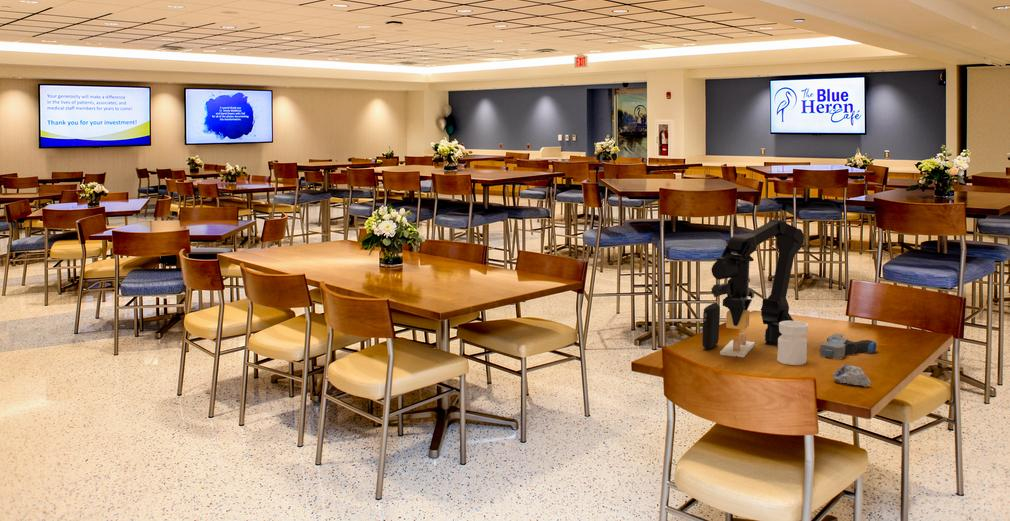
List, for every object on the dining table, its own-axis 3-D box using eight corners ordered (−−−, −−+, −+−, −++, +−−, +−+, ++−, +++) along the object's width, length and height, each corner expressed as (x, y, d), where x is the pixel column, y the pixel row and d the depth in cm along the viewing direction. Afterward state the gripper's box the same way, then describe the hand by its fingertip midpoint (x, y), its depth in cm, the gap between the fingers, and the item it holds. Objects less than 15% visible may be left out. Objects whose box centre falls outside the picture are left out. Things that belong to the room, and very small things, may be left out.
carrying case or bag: (708, 352, 278) (709, 307, 276) (699, 350, 280) (700, 306, 278) (719, 345, 287) (721, 302, 285) (711, 343, 289) (712, 301, 286)
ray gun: (878, 338, 280) (830, 332, 288) (868, 352, 264) (818, 345, 272) (877, 351, 280) (830, 345, 288) (867, 365, 265) (817, 358, 272)
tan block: (749, 325, 277) (749, 310, 276) (745, 329, 272) (745, 314, 271) (730, 323, 280) (730, 308, 279) (726, 327, 274) (726, 312, 273)
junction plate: (754, 345, 287) (755, 332, 286) (743, 357, 272) (744, 343, 271) (732, 342, 290) (732, 329, 290) (720, 354, 275) (720, 341, 275)
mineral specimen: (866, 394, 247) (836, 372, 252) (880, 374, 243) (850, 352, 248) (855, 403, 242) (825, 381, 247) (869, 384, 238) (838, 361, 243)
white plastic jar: (786, 365, 263) (788, 327, 261) (771, 358, 271) (773, 321, 269) (811, 364, 264) (814, 326, 262) (797, 356, 273) (799, 320, 271)
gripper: (721, 269, 285) (719, 315, 287) (707, 278, 268) (705, 327, 271) (755, 271, 280) (753, 318, 282) (743, 281, 263) (741, 331, 266)
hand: (737, 323), depth 275 cm, fingers closed on tan block, 6 cm apart
